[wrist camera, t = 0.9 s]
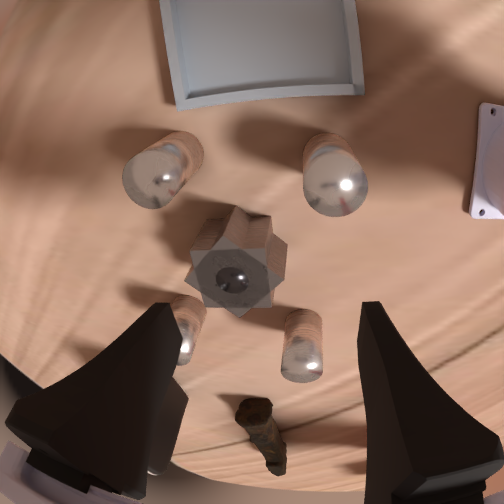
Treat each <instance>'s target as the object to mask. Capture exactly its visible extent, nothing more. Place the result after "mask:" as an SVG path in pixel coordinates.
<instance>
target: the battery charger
mask: <svg viewBox="0 0 504 504" xmlns="http://www.w3.org/2000/svg"><path fill="white" fill-rule="evenodd" d="M188 399H189V398H188V397H187V395H186V394H185V393H184V391H183V390H182V389H181V387H180V386H179V385H178V383H177V382H176V381H175V380H174V379H173V377H172V379H171V381H170V384H169V386H168V389H167V392H166V394H165V397H164V400H163V402H162V405H161V408H160V411H159V414H158V418H157V422H156V426H155V431H154V435H153V440H152V446H151V451H150V458H149V465H148V472H147V473H150V474H152V475H162V474H163V473H165V472H166V470H167V468H168V466H169V463H170V460H171V457H172V454H173V450H174V447H175V444H176V440H177V437H178V433H179V429H180V426H181V422H182V418H183V415H184V412H185V408H186V406H187V403H188Z"/></svg>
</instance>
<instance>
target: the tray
mask: <svg viewBox="0 0 504 504" xmlns="http://www.w3.org/2000/svg"><path fill="white" fill-rule="evenodd" d="M159 3H160V10H161V17H162V24H163V31H164V37H165V44H166V50H167V56H168V62H169V68H170V74H171V80H172V86H173V91H174V97H175V102H176V108H177V111H183V110H188V109H194V108H200V107H206V106H213V105H220V104H227V103H235V102H243V101H252V100H262V99H272V98H285V97H301V96H324V95H365V89H364V75H363V63H362V52H361V43H360V34H359V26H358V18H357V11H356V4H355V0H159Z"/></svg>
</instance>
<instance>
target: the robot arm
mask: <svg viewBox="0 0 504 504" xmlns="http://www.w3.org/2000/svg"><path fill="white" fill-rule="evenodd" d="M492 108H493V110H494V112H493V114H492V115H491V109H492ZM482 209H483V210H482ZM480 210H482V212H481V213H479V212H480ZM469 215H470V216H471V217H472V218H474V219H504V106H502V105H496V104H491V103H482V104H481V105H480V106H479V123H478V140H477V152H476V163H475V172H474V180H473V187H472V194H471V200H470V206H469ZM182 341H183V337H182V335H181V332H180V330H179V327H178V325H177V322H176V319H175V317H174V314H173V311H172V309H171V306H170V303H155V304H153V305H152V306H151V307H150V308H149V309H148V310H147V311H146V312H145V313H144V314H142V315H141V316H140V317H139V318H138V319H137V320H136V321H135V322H134V323H133V324H132V325H131V326H130V327H129V328H128V329H127V330H126V331H125V332H123V333H122V334H121V335H120V336H119V337H118V338H117V339H116V340H115V341H113V342H112V343H111V344H110V345H109V346H108V347H107V348H105V349H104V350H103V351H102V352H101V353H100V354H98V355H97V356H96V357H95V358H93V359H92V360H91V361H89V362H88V363H87V364H85V365H84V366H82V367H81V368H79V369H78V370H76V371H75V372H73V373H72V374H70V375H68V376H67V377H65V378H64V379H62V380H60V381H58V382H57V383H55V384H53V385H51V386H49V387H47V388H45V389H43V390H41V391H39V392H36V393H34V394H31V395H29V396H26V397H24V398H21V399H18V400H17V401H16V403H15V404H14V406H13V408H12V410H11V412H10V413H9V415H8V417H7V419H6V421H5V424H6V426H7V427H8V428H9V429H10V430H11V431H12V432H13V433H14V434H15V435H16V436H17V437H19V438H20V439H21V440H22V441H24V442H25V443H26V444H27V445H28V446H30V447H31V448H32V449H31V452H30V453H29V452H27V451H26V450H24V449H23V448H21V447H19V446H17V445H16V444H14V443H13V442H11V441H8V442H7V444H6V446H5V448H4V450H3V452H2V454H1V456H0V492H1V493H2V494H4V495H5V496H6V497H7V498H8V499H10V500H11V501H12V502H14V503H15V504H142V503H139V502H136V501H133V500H130V499H127V498H124V497H121V496H118V495H115V494H113V493H116V494H119V495H121V494H122V495H125V496H127V497H131V498H134V499H137V500H140V499H142V498H144V497H145V496H146V483H147V472H148V465H149V458H150V451H151V446H152V440H153V435H154V431H155V426H156V422H157V418H158V414H159V411H160V408H161V405H162V402H163V400H164V397H165V394H166V392H167V389H168V386H169V384H170V381H171V379H172V376H173V373H174V370H175V368H176V365H177V362H178V359H179V355H180V351H181V346H182ZM357 348H358V365H359V372H360V378H361V385H362V391H363V398H364V405H365V412H366V421H367V470H366V487H365V499H364V504H504V490H503V491H500V492H497V493H495V494H492V495H490V496H487V497H485V498H483V493H482V491H484V490H486V483H485V480H486V479H488V478H489V477H490V476H492V475H493V474H494V473H496V472H497V471H498V470H500V469H501V468H502V467H503V465H504V452H503V447H502V444H501V441H500V438H499V436H498V435H496V434H495V433H494V432H492V431H491V430H489V429H488V428H486V427H485V426H484V425H482V424H481V423H479V422H478V421H477V420H476V419H474V418H473V417H472V416H471V415H470V414H468V413H467V412H466V411H465V410H464V409H463V408H462V407H461V406H460V405H458V404H457V403H456V402H455V401H454V400H453V399H452V398H451V397H450V396H449V395H448V394H447V393H446V392H445V391H444V390H443V389H442V388H441V387H440V386H439V385H438V384H437V382H436V381H435V380H434V379H433V378H432V377H431V376H430V374H429V373H428V372H427V371H426V370H425V368H424V367H423V366H422V365H421V363H420V362H419V361H418V359H417V358H416V357H415V355H414V354H413V353H412V351H411V350H410V349H409V347H408V346H407V344H406V343H405V341H404V340H403V338H402V337H401V335H400V334H399V332H398V331H397V329H396V328H395V326H394V324H393V323H392V321H391V320H390V318H389V316H388V315H387V313H386V311H385V309H384V308H383V306H382V304H381V303H380V302H379V301H374V302H362V309H361V316H360V324H359V331H358V338H357ZM112 492H113V493H112Z"/></svg>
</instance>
